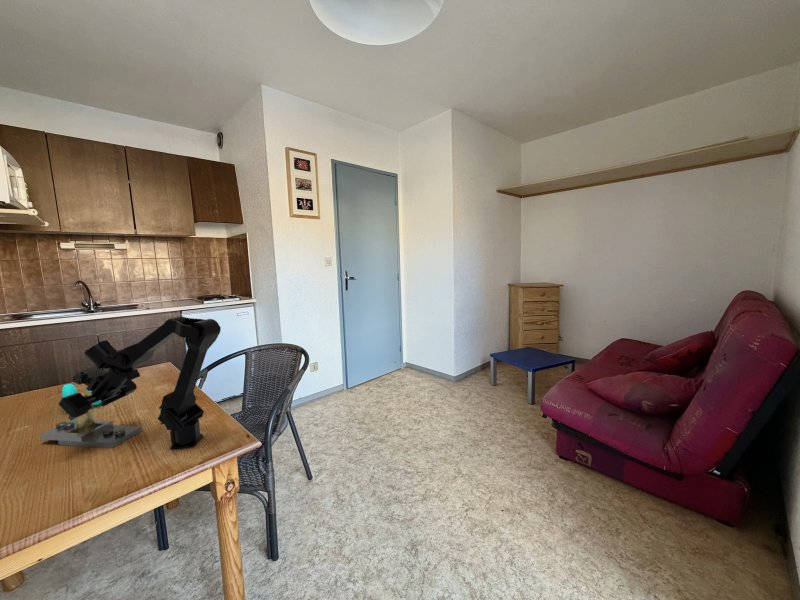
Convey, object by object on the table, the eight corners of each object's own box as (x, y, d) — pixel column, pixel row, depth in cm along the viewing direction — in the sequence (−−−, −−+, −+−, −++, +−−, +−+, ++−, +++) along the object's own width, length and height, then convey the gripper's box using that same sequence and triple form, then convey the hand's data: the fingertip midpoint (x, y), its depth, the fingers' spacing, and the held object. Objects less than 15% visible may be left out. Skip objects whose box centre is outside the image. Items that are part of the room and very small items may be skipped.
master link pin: (100, 434, 101) (95, 392, 99) (85, 441, 97) (79, 398, 95) (89, 432, 102) (83, 391, 100) (74, 440, 98) (68, 397, 96)
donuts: (65, 407, 121) (62, 382, 119) (101, 399, 128) (98, 375, 126) (64, 416, 114) (61, 389, 112) (102, 407, 121) (99, 381, 119)
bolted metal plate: (141, 431, 103) (140, 419, 102) (112, 448, 93) (110, 435, 93) (76, 427, 105) (74, 416, 105) (41, 444, 96) (39, 431, 95)
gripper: (124, 351, 105) (99, 382, 108) (59, 370, 87) (30, 407, 89) (149, 374, 105) (123, 405, 108) (88, 398, 87) (59, 435, 89)
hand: (86, 412), depth 98 cm, fingers open, 9 cm apart
